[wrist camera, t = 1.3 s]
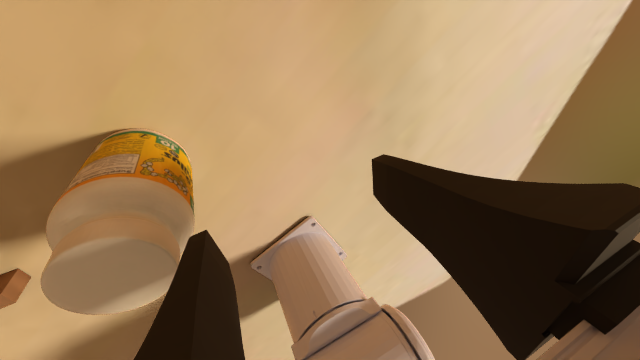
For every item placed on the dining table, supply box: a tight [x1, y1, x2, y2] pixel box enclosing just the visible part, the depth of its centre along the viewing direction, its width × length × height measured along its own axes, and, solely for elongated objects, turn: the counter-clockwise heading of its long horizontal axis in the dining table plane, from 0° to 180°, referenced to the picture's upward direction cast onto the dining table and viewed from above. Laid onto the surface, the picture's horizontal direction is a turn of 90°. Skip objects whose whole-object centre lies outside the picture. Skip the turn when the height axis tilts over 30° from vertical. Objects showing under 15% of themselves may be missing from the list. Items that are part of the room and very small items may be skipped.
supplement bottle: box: [41, 129, 194, 315], centre depth 13 cm, size 5×5×10 cm
